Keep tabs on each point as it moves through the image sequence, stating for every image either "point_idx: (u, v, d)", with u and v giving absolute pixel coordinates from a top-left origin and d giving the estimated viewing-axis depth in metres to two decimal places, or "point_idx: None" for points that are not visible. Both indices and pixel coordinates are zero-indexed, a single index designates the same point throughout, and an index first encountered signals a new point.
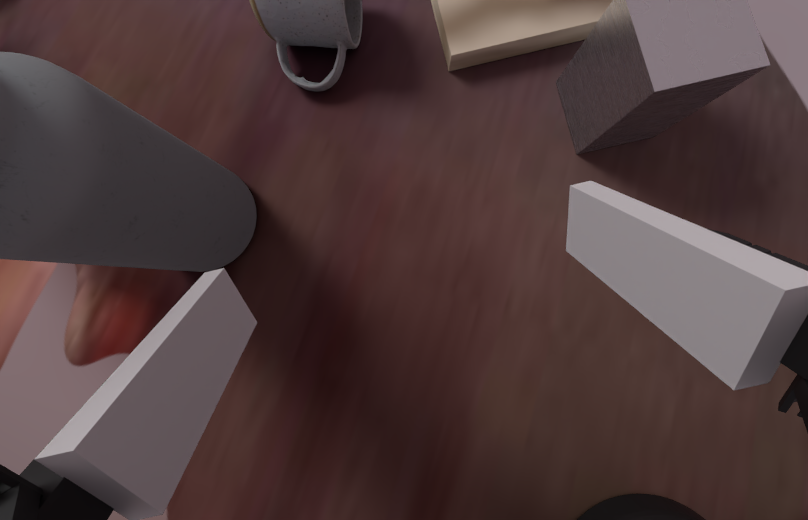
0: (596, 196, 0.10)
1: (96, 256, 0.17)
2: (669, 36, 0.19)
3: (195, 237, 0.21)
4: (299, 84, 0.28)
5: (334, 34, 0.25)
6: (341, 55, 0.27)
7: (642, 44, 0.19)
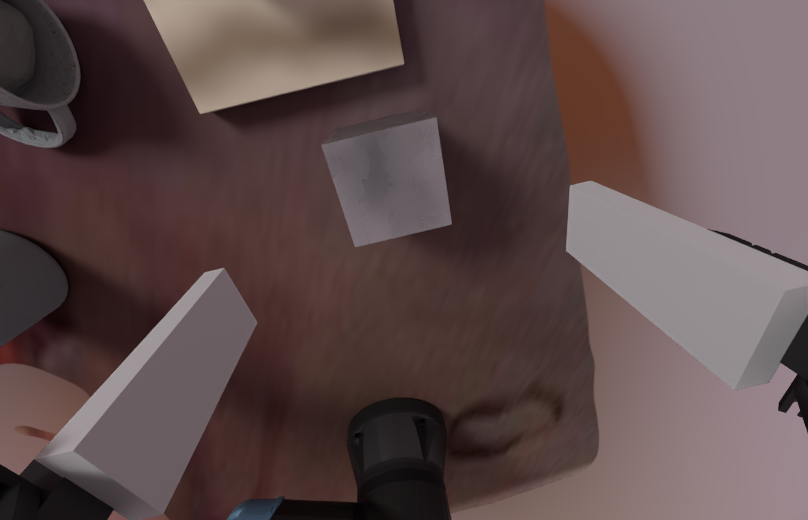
0: (596, 196, 0.10)
1: None
2: (368, 198, 0.20)
3: (1, 340, 0.25)
4: (26, 143, 0.24)
5: None
6: (58, 118, 0.22)
7: (344, 206, 0.21)
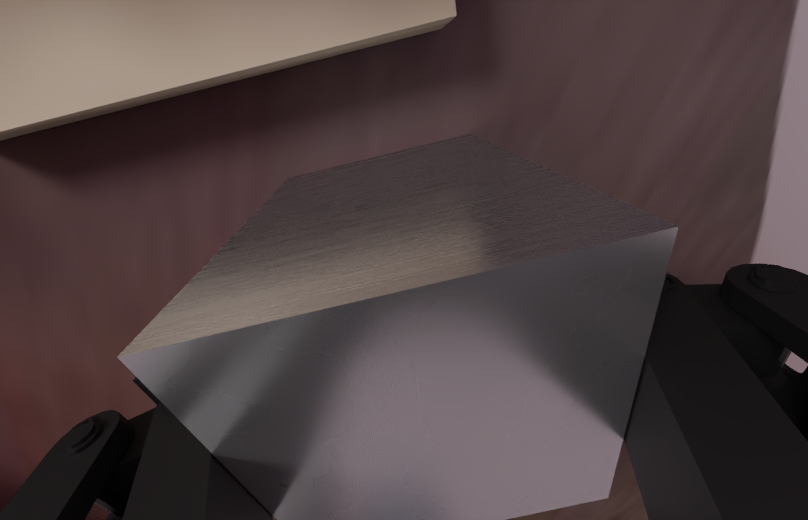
0: None
1: None
2: (352, 477, 0.06)
3: None
4: None
5: None
6: None
7: (266, 499, 0.06)
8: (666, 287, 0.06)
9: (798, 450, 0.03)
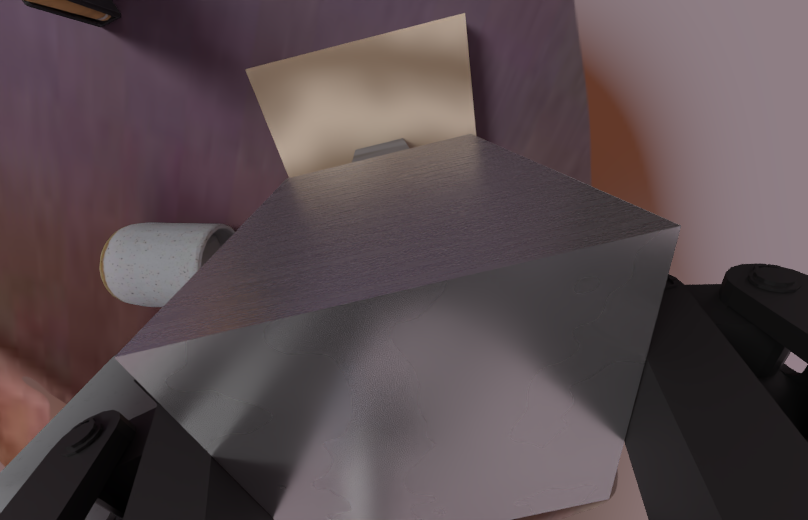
0: None
1: None
2: (352, 478, 0.06)
3: None
4: None
5: None
6: None
7: (265, 500, 0.06)
8: (666, 287, 0.06)
9: (797, 450, 0.03)
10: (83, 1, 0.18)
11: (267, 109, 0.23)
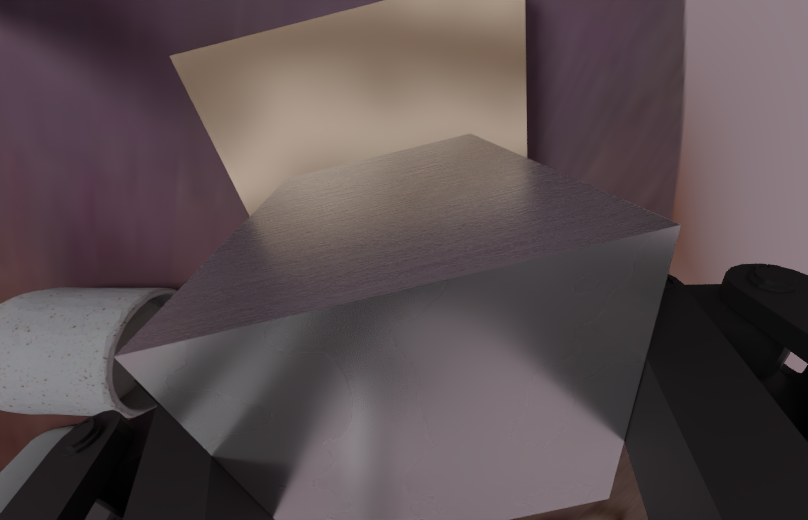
0: None
1: None
2: (351, 477, 0.06)
3: None
4: None
5: None
6: None
7: (265, 500, 0.06)
8: (665, 287, 0.06)
9: (797, 450, 0.03)
10: None
11: (210, 119, 0.15)
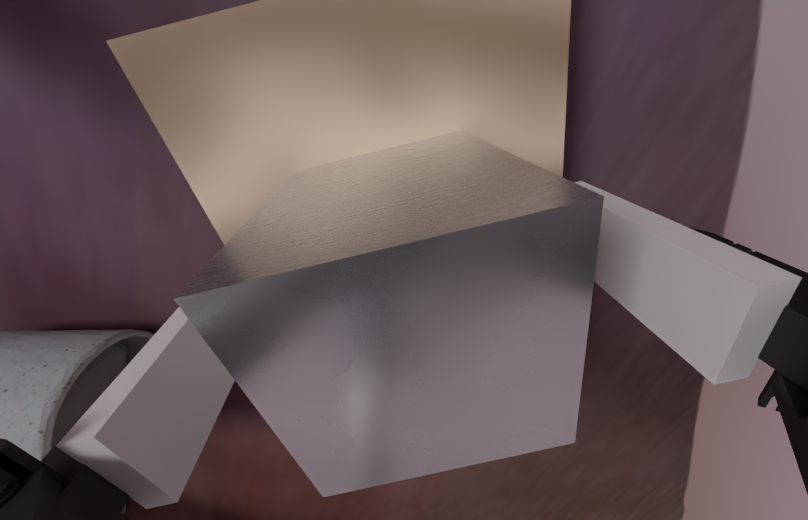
0: None
1: None
2: (354, 414, 0.07)
3: None
4: None
5: None
6: None
7: (282, 433, 0.07)
8: None
9: None
10: None
11: (166, 123, 0.12)
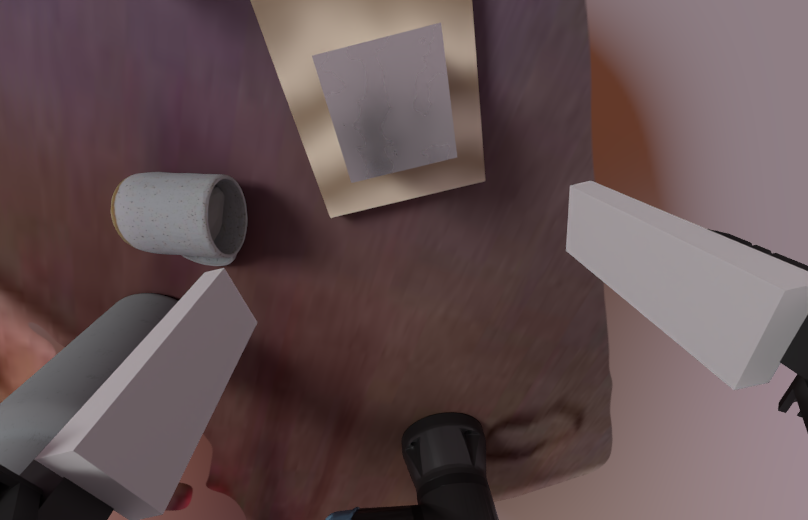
0: (596, 196, 0.10)
1: None
2: (365, 123, 0.18)
3: None
4: None
5: None
6: None
7: (338, 132, 0.19)
8: None
9: None
10: None
11: (268, 33, 0.23)
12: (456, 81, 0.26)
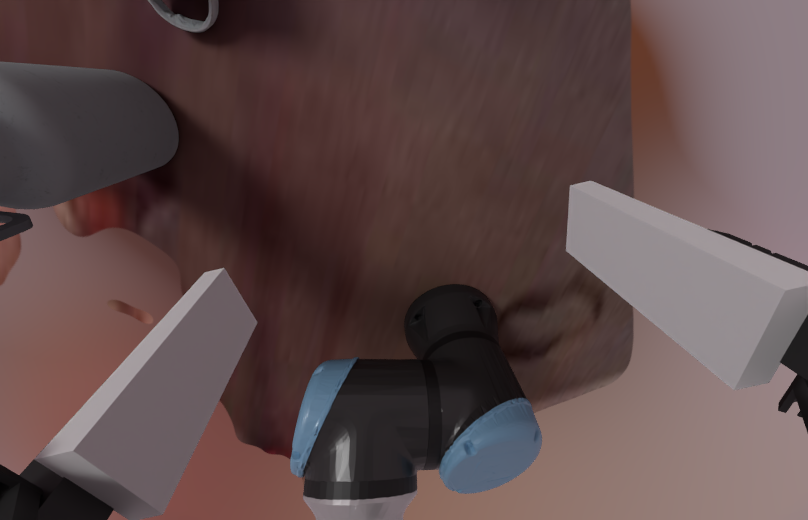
0: (596, 196, 0.10)
1: (86, 193, 0.26)
2: None
3: (139, 161, 0.29)
4: (179, 27, 0.29)
5: None
6: (213, 0, 0.27)
7: None
8: None
9: None
10: None
11: None
12: None
